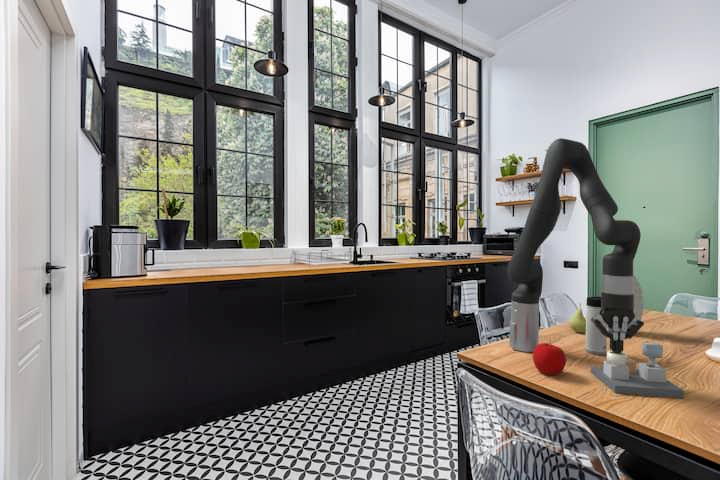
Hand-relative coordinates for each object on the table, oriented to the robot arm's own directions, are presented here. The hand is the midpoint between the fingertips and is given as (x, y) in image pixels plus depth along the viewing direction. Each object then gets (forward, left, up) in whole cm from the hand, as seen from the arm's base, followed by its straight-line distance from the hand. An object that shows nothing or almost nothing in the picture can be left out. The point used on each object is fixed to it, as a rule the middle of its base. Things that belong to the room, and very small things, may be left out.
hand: (616, 352), depth 101 cm
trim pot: (+5, +5, -7) cm, 9 cm away
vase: (+31, +59, -9) cm, 67 cm away
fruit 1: (-16, +5, -9) cm, 19 cm away
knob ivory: (0, 0, -6) cm, 6 cm away
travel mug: (+7, +28, -9) cm, 30 cm away
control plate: (+4, 0, -9) cm, 10 cm away
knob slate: (+9, 0, -3) cm, 10 cm away
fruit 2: (+12, +56, -9) cm, 58 cm away
